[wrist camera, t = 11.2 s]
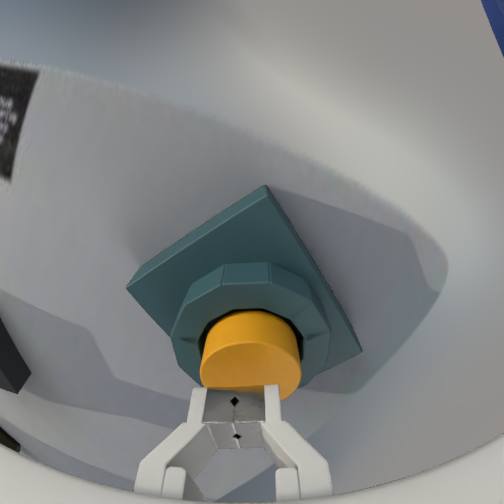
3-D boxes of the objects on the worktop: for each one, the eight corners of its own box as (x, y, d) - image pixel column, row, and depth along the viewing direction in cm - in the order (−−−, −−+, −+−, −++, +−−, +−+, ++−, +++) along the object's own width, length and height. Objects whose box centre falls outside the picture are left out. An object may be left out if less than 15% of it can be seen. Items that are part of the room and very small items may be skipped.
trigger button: (311, 354, 13) (318, 386, 11) (239, 385, 14) (237, 417, 12) (266, 293, 12) (267, 324, 10) (187, 334, 12) (178, 366, 11)
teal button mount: (353, 328, 17) (372, 374, 13) (242, 380, 19) (240, 428, 15) (265, 183, 13) (269, 205, 10) (139, 267, 15) (109, 308, 12)
